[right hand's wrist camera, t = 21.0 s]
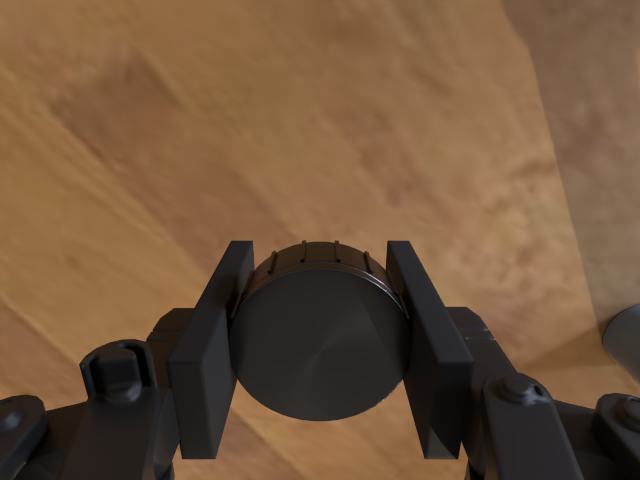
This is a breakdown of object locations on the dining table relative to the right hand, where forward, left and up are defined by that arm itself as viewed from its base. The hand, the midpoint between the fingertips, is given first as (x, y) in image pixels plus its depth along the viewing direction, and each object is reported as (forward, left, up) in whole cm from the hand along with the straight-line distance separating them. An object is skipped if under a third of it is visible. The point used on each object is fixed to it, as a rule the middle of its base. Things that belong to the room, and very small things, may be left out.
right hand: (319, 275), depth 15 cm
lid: (0, 0, +4) cm, 4 cm away
